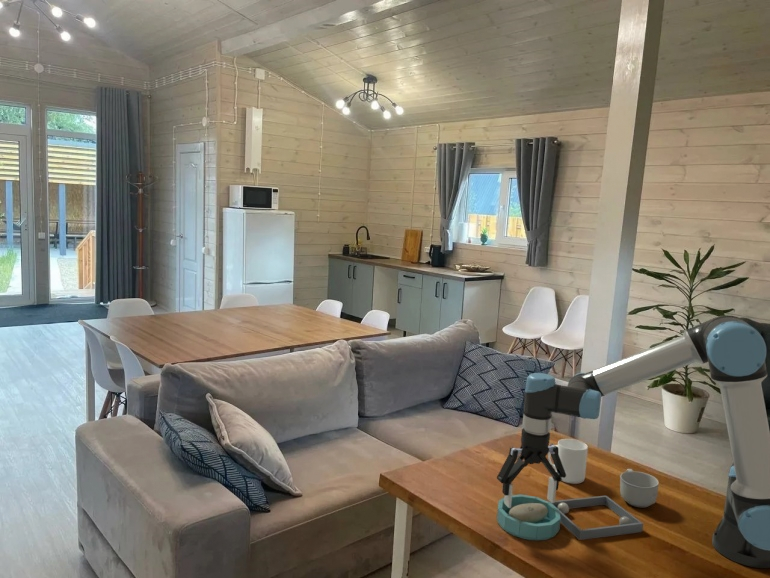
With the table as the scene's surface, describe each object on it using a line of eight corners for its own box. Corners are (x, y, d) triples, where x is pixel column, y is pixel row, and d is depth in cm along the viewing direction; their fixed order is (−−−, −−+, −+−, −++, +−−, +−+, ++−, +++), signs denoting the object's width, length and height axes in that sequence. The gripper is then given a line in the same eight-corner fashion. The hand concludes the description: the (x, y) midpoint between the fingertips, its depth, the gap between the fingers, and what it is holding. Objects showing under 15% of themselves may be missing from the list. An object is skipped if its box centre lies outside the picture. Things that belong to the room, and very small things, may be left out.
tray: (642, 531, 163) (643, 523, 163) (579, 540, 158) (580, 531, 157) (605, 503, 179) (606, 495, 178) (546, 509, 173) (547, 501, 173)
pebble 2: (633, 530, 164) (634, 519, 164) (623, 531, 163) (624, 520, 163) (625, 524, 167) (626, 513, 167) (616, 525, 166) (617, 514, 166)
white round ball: (570, 515, 170) (571, 505, 170) (561, 516, 169) (562, 506, 169) (564, 510, 173) (565, 500, 173) (554, 511, 172) (555, 501, 172)
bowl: (570, 537, 159) (572, 522, 158) (515, 544, 154) (516, 528, 153) (538, 506, 175) (539, 492, 174) (486, 511, 170) (487, 497, 169)
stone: (555, 513, 164) (527, 511, 157) (543, 530, 166) (514, 529, 159) (542, 498, 169) (514, 495, 162) (530, 514, 170) (502, 513, 164)
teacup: (659, 514, 174) (663, 488, 173) (621, 508, 176) (624, 483, 175) (648, 492, 187) (651, 468, 186) (613, 487, 190) (615, 464, 188)
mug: (586, 486, 189) (589, 452, 188) (547, 480, 192) (550, 446, 190) (583, 473, 198) (586, 440, 197) (546, 468, 201) (549, 436, 199)
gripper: (567, 422, 168) (560, 492, 171) (488, 427, 161) (482, 500, 164) (583, 432, 161) (576, 505, 163) (501, 438, 153) (495, 514, 156)
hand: (529, 503), depth 164 cm, fingers open, 13 cm apart
